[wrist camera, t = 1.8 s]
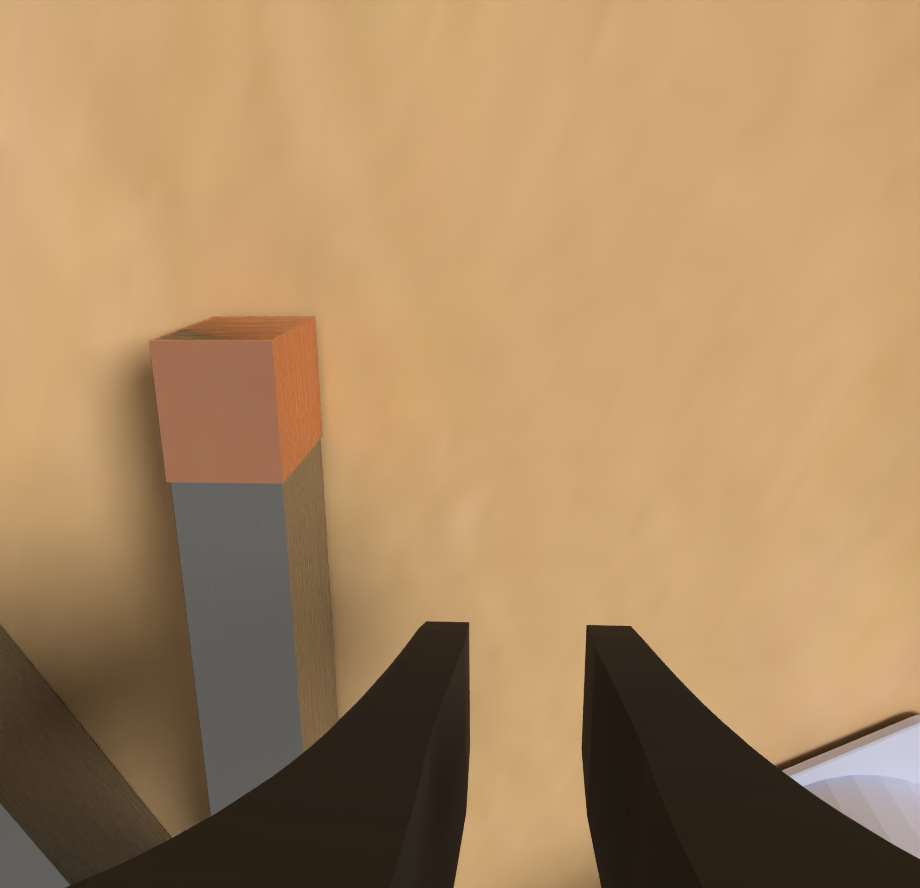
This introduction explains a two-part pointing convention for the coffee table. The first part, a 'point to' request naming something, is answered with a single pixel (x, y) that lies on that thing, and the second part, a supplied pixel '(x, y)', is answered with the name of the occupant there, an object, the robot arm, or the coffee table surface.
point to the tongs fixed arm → (58, 790)
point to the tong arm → (250, 539)
